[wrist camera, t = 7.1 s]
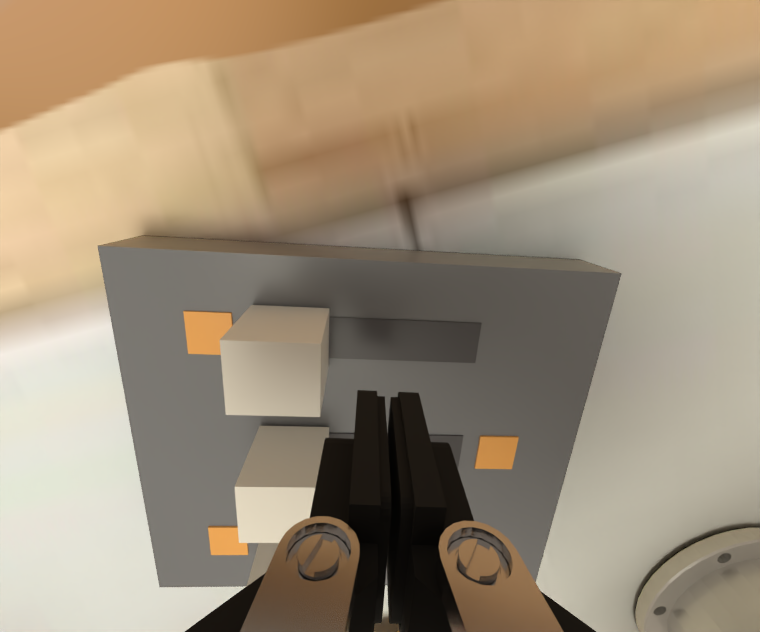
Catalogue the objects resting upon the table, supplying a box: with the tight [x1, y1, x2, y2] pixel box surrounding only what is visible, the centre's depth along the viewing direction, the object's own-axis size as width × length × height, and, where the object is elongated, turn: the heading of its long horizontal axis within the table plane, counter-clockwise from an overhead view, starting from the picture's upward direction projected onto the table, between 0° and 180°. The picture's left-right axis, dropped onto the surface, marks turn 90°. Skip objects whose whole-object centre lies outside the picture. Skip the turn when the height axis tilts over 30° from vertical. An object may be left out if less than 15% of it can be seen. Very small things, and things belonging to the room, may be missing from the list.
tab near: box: [220, 305, 329, 417], centre depth 13 cm, size 3×3×4 cm
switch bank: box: [98, 236, 621, 587], centre depth 18 cm, size 20×18×3 cm
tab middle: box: [235, 426, 329, 543], centre depth 15 cm, size 3×3×4 cm
